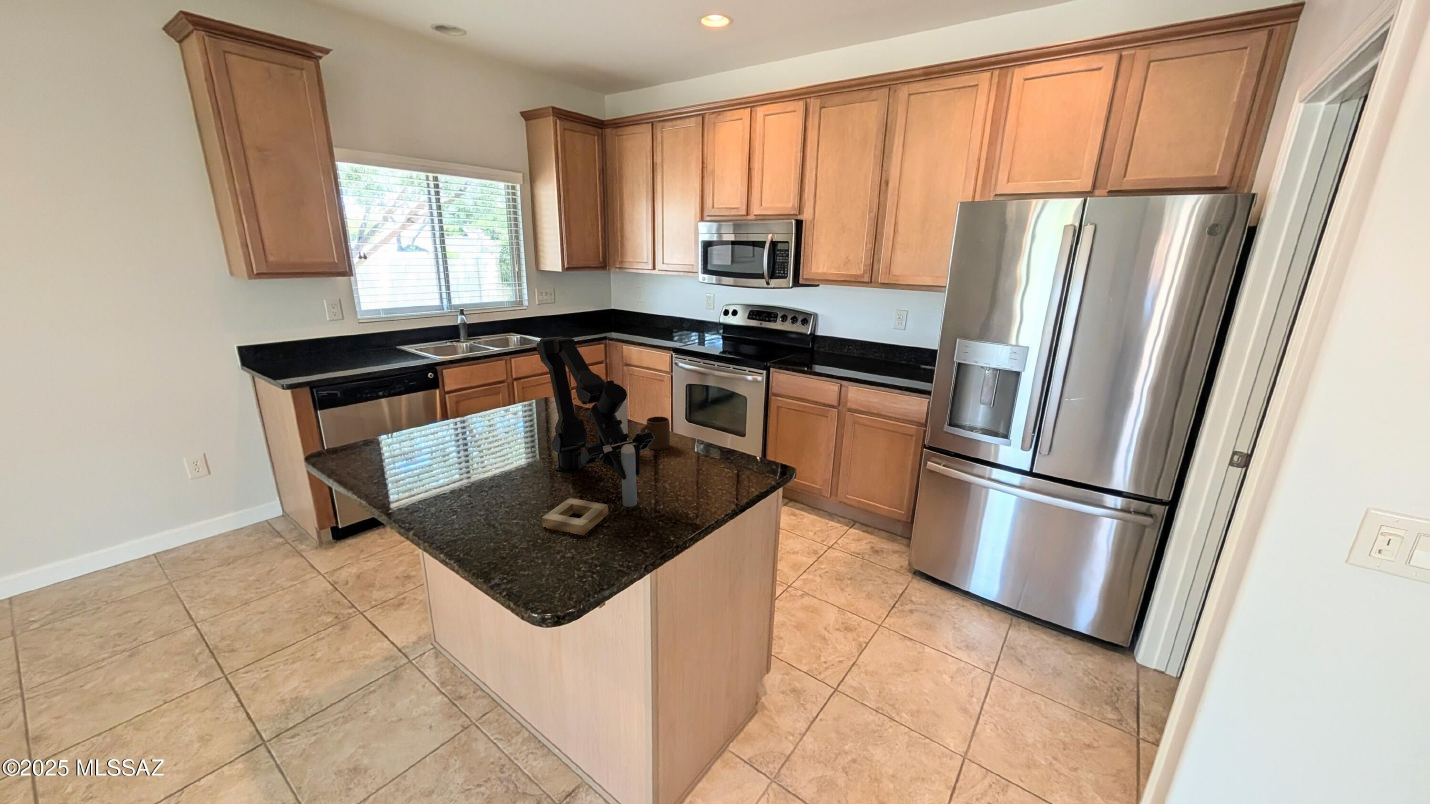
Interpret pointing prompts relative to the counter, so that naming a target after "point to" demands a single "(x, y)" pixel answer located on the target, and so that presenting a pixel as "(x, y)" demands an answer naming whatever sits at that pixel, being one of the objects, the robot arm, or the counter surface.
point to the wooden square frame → (581, 526)
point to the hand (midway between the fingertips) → (631, 477)
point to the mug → (658, 432)
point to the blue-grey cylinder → (629, 476)
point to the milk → (623, 416)
